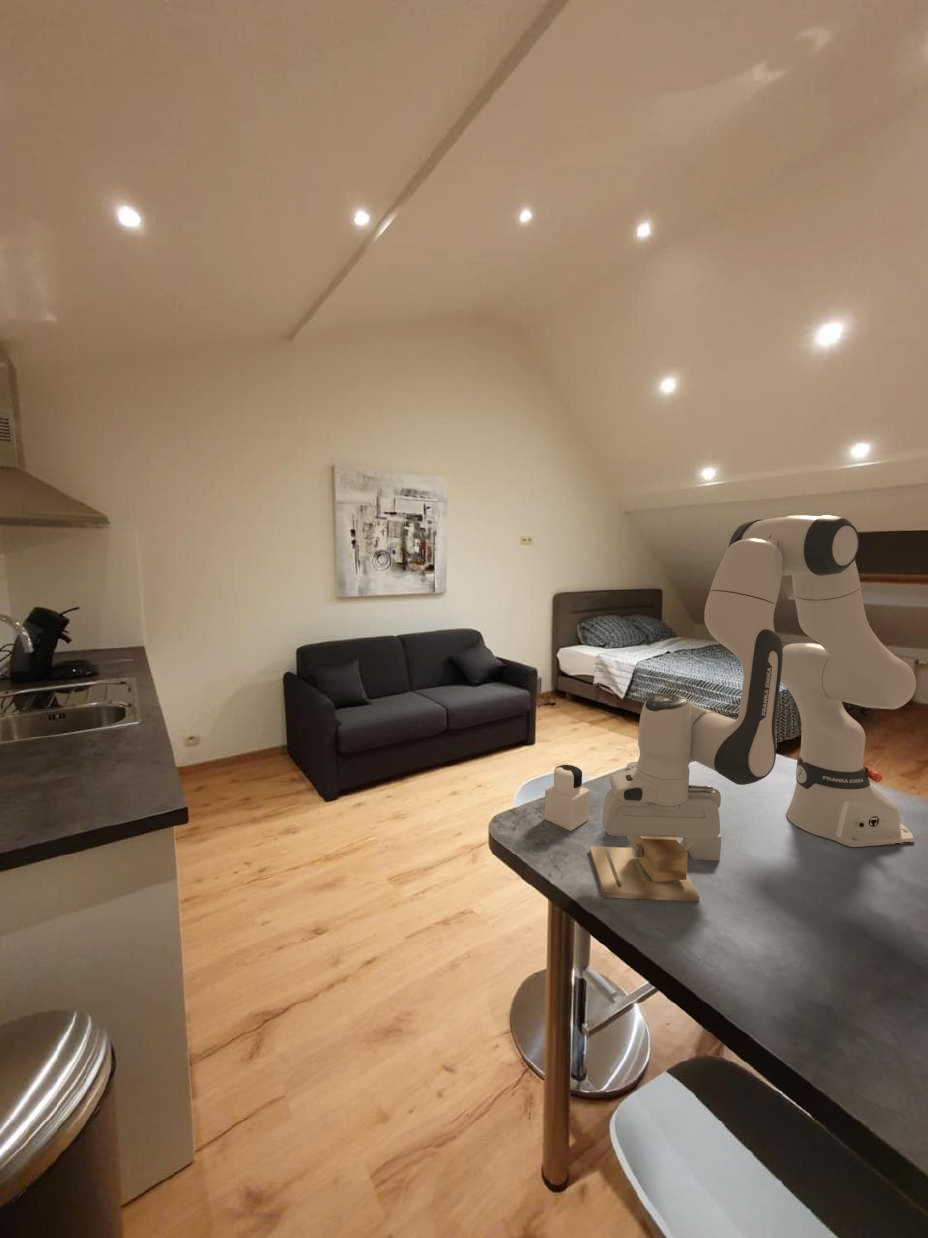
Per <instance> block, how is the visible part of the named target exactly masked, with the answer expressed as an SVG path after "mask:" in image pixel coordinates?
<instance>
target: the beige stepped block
mask: <svg viewBox="0 0 928 1238" xmlns="http://www.w3.org/2000/svg"><path fill="white" fill-rule="evenodd" d="M544 793H545V794H544V820H545V821H548V822H550V823H552V824H553V825H557V826H559V827H561V828H563V829H565V830H567V831H570V832H572V831H573V830H575V829H576V828H578V827H579V826H582V825H583V824H584V823H585V822H587V821H589V819H590V799H591V797H590V796H591V791H590V789H589V788H586V787H584V786H583V771H582V770H581V769H580V768H579V767H578V766H575V765H573V764H561V765H557V766H556V767H555V768H554V770H553V785H552V786H550V787H548V788H546V789H545V792H544Z"/></svg>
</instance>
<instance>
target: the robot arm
mask: <svg viewBox="0 0 928 1238" xmlns="http://www.w3.org/2000/svg"><path fill="white" fill-rule="evenodd" d="M859 548H860V536H859V532H858V530H857V528H856V527H855V525H854V524H852V523H851V522H850V520H849V519H847V518H845V517H841V516H838V515H828V514H827V515H826V514H825V515H820V516H819V515H788V516H784V517H775V518H768V519H760V518H759V519H755V520H754V519H753V520H750V521H747V522H744V523H741V525H739V526H738V527H737V528H736V530H735V531H734V532H733V534H732V536H731V537H730V540H729V544H728V548H727V550H726V552H725V554H724V555H723V557H722V560H721V561H720V564H719V566H718V568H717V570H716V572H715V575H714V577H713V580H712V583H711V587H710V590H709V593H708V596H707V599H706V603H705V607H704V613H703V618H704V619H703V621H704V624H705V626H706V628H707V630H708V632H709V633H710V635H711V636H712V637H713V639H715V640H716V641H717V643H719V644H721V645H722V646H723V647H725V648H726V649H727V650H729V652H731V653H732V654H733V655H734V656H735V658H737V660H738V661H739V662H740V664H741V668H742V673H743V679H742V680H743V681H742V686H741V695H740V702H739V712H738V715H737V718H736V719H734V718H731V717H728V716H726V715H723V714H721V713H718V712H716V711H713V710H711V709H709V708H705V707H701V706H698V705H696V704H694V703H692V702H691V701H689V699H688V698H686V697H685V696H683V695H681V694H677V693H659V694H655V695H653V696H650V697H648V698H647V699H646V700H645V702H644V703H643V706H642V709H641V712H640V717H639V722H638V732H637V733H638V734H637V735H638V736H637V738H638V739H637V746H638V749H639V756H638V760H637V761H636V762H637V768H634V769H631V770H628V771H625V770H624V771H622V772H617V773H614V774H612V775H611V776H610V778H609V781H610V782H609V785H610V789H609V790H608V791H607V792H606V794H605V797H604V802H603V808H602V817H601V819H602V820H601V821H602V826H603V829H604V830H605V832H606V833H607V834H608V835H609V836H625V837H627V840H628V841H629V844H630V845H631V848H632V854H633V856H634V857H642V853H643V849H642V847H641V845H640V844H636V843H635V841H637V836H651V837H674V838H681V839H682V840H681V841H680V843H679V844H680V845H681V846H682V847H683V848H684V849H685V850H686V851H687V852H688V849H689V847H690V846H691V845H692V844H693V838H710V839H714V838H716V837H717V836H718V835H719V834H720V833H721V822H720V821H721V820H720V811H719V808H720V807H721V803H722V802H721V801H722V796H721V793H720V791H719V789H716V788H714V786H712V785H695V784H693V785H691V784H690V766H689V765H690V764H691V763H693V762H696V763H698V764H700V765H703V766H705V767H707V768H709V769H710V770H712V771H714V772H717V773H718V774H719V775H721V776H723V777H724V778H725V779H728V781H730V782H731V783H734V784H735V785H738V786H745V785H750V784H754V783H756V782H759V781H761V780H763V779H765V778H766V777H767V776H769V774H771V772H772V771H773V768H774V766H775V763H776V758H777V746H776V723H777V716H778V715H777V714H778V705H779V697H780V690H781V687H780V686H781V683H782V684H783V686H785V688H786V689H787V690H788V691H789V693H790V695H791V696H792V698H793V700H794V702H795V704H796V707H797V709H798V713H799V716H800V723H801V735H800V737H801V739H800V740H801V741H800V752H799V754H798V755H797V761H796V770H795V777H796V778H795V781H796V783H795V787H794V791H793V795H792V799H791V800H790V803H789V806H788V808H787V810H786V812H785V815H786V817H787V819H788V820H789V822H791V823H792V824H793V825H795V826H796V827H798V828H799V829H802V830H804V831H806V832H808V833H811V834H813V835H815V836H819V837H822V838H825V839H829V840H832V841H834V842H837V843H839V844H842V845H844V846H846V847H850V848H860V847H861V848H863V847H873V846H884V845H886V844H887V846H889V845H896V844H895V843H900V844H904V843H903V842H911V841H914V835H913V833H912V832H911V831H910V830H909V828H907V827H906V826H905V825H904V824H902V823H901V816H900V812H899V810H898V807H897V806H896V804H895V803H894V802H893V801H892V800H891V799H890V798H888V797H887V796H886V795H885V794H883V793H882V792H881V791H880V790H879V789H878V788H876V787H875V786H874V785H873V784H871V781H870V779H871V780H872V782H874V783H880V782H881V781H883V779H884V776H883V775H882V773H880V772H878V771H876V770H875V769H869V768H868V767H866V766H865V765H863V764H864V757H865V747H866V738H867V737H866V733H865V730H864V728H863V727H862V725H861V724H860V723H859V722H858V721H857V720H856V719H854V717H852V716H851V715H850V714H849V713H848V712H847V710H846V709H845V707H844V705H843V703H848V704H852V705H857V706H858V707H859V706H860V707H863V708H870V709H883V710H897V709H900V708H901V707H903V706H905V705H906V704H907V703H908V702H909V701H910V700H911V698H912V697H913V696H914V694H915V692H916V687H917V678H916V676H915V673H914V671H913V669H912V667H911V666H910V665H909V664H908V663H907V662H905V661H904V660H903V659H900V657H897V656H896V655H895V654H894V653H892V652H891V651H890V650H889V649H888V648H887V647H886V646H885V645H884V644H883V643H882V642H881V640H880V639H879V638H878V636H877V635H876V634H875V632H874V631H873V630H872V627H871V626H870V624H869V621H868V618H867V616H866V609H865V606H864V601H863V595H862V587H861V581H860V576H859V575H860V574H859V570H858V567H857V564H856V558H857V556H858V554H859ZM782 576H785V577H786V576H791V578H792V589H793V594H794V595H793V596H794V602H795V607H796V612H797V620H798V624H799V627H800V629H801V630H802V631H803V632H804V633H805V634H806V636H807V637H809V638H811V639H812V640H813V641H815V642H817V643H815V642H814V643H813V642H800V643H798V642H797V643H789V644H787V645H785V646H784V647H783V642H782V640H781V638H780V637H779V636H778V634H776V631H775V624H774V623H775V622H774V618H775V617H774V616H775V615H774V614H775V609H776V606H777V603H778V598H779V594H780V590H781V585H782V579H783V577H782ZM720 835H721V834H720ZM901 842H902V843H901ZM911 843H912V842H911Z"/></svg>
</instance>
